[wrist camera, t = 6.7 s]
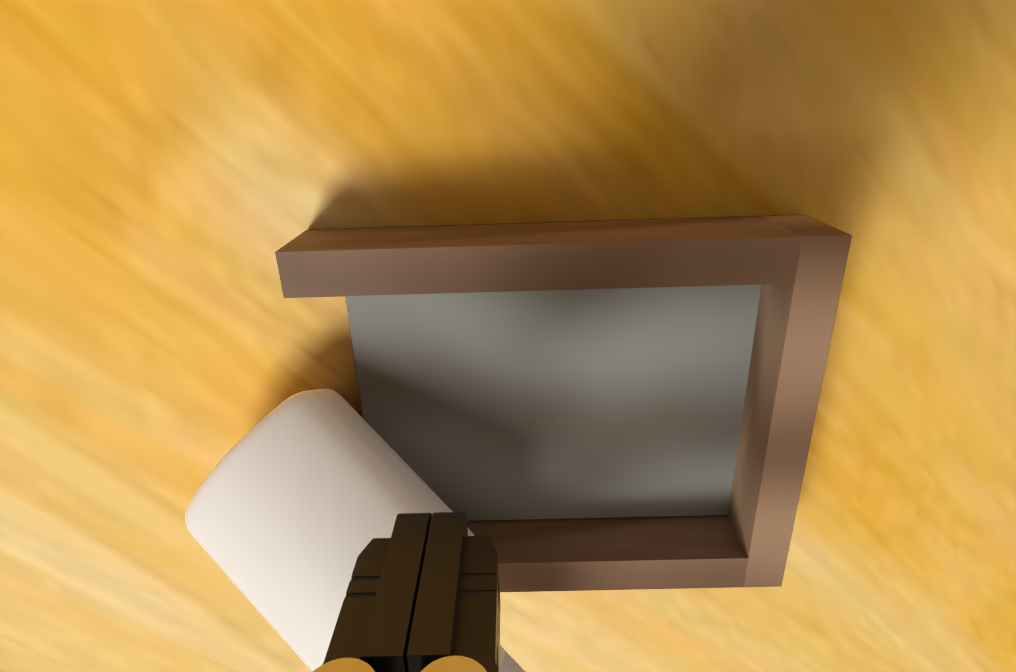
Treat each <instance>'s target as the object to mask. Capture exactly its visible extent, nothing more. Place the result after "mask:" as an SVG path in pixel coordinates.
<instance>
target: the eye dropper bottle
mask: <svg viewBox="0 0 1016 672" xmlns="http://www.w3.org/2000/svg"><path fill="white" fill-rule="evenodd" d="M435 512H453V511H452V510H451V509H450V508H449V507H448V506H447V505H446V504H445V503H444V502H443V501H442V500H441V499H440V498H439V497H438V496H437V495H436V494H435V492H434V491H433V490H432V489H431V488H430V487H429V486H428V485H427V484H426V483H425V482H424V481H423V480H422V479H421V478H420V477H419V476H418V475H417V474H416V473H415V472H414V471H413V470H412V468H411V467H410V466H409V465H408V464H407V463H406V462H405V461H404V460H403V459H402V458H401V457H400V456H399V455H398V454H397V453H396V452H395V451H394V450H393V449H392V448H391V447H390V446H389V445H388V444H387V443H386V442H385V441H384V439H383V438H382V437H381V436H380V435H379V434H378V433H377V432H376V431H375V430H374V429H373V428H372V427H371V426H370V425H369V424H368V423H367V422H366V421H365V420H364V419H363V418H362V417H361V416H360V415H359V414H358V413H357V412H356V411H355V409H354V408H353V407H352V406H351V405H350V404H349V403H348V402H347V401H346V400H345V399H344V398H343V397H342V396H341V395H340V394H339V393H337V392H336V391H334V390H332V389H328V388H325V389H315V390H307V391H301V392H299V393H296V394H294V395H292V396H290V397H289V398H287V399H286V400H284V401H283V402H282V403H280V404H279V405H278V406H277V407H275V408H274V409H273V410H272V411H271V412H270V413H269V414H267V415H266V416H265V417H264V418H263V419H262V420H261V421H260V422H258V423H257V424H256V425H255V426H254V427H253V428H252V429H251V430H250V431H249V432H248V433H247V434H246V435H245V436H244V437H243V438H242V439H241V440H240V441H239V442H238V443H237V444H236V445H235V446H234V447H233V448H232V449H231V450H230V451H229V452H228V453H227V454H226V455H225V456H224V457H223V459H222V460H221V461H220V462H219V463H218V464H217V465H216V467H215V468H214V469H213V470H212V472H211V473H210V474H209V475H208V477H207V478H206V479H205V481H204V482H203V483H202V485H201V486H200V488H199V489H198V491H197V492H196V494H195V495H194V497H193V498H192V500H191V502H190V503H189V505H188V507H187V509H186V512H185V523H186V526H187V528H188V530H189V532H190V533H191V534H192V535H193V537H194V538H195V539H196V540H197V541H198V542H199V543H200V545H201V546H202V547H203V548H204V549H205V550H206V552H207V553H208V554H209V555H210V556H211V557H212V558H213V560H214V561H215V562H216V563H217V564H218V565H219V566H220V567H221V569H222V570H223V571H224V572H225V573H226V574H227V575H228V577H229V578H230V579H231V580H232V581H233V582H234V583H235V585H236V586H237V587H238V588H239V589H240V590H241V591H242V593H243V594H244V595H245V596H246V597H247V598H248V599H249V601H250V602H251V603H252V604H253V605H254V606H255V607H256V609H257V610H258V611H259V612H260V613H261V614H262V615H263V616H264V618H265V619H266V620H267V621H268V622H269V623H270V624H271V625H272V627H273V628H274V629H275V630H276V631H277V632H278V633H279V634H280V636H281V637H282V638H283V639H284V640H285V641H286V642H287V644H288V645H289V646H290V647H291V648H292V649H293V650H294V651H295V653H296V654H297V655H298V656H299V657H300V658H301V659H302V660H303V662H304V663H305V664H306V665H307V666H308V667H309V668H310V669H311V671H312V672H313V671H314V670H315V669H317V668H318V667H320V666H321V665H322V664H323V662H324V660H325V656H326V653H327V650H328V647H329V644H330V641H331V638H332V635H333V632H334V629H335V625H336V622H337V619H338V616H339V613H340V610H341V607H342V604H343V601H344V598H345V597H346V591H347V588H348V585H349V582H350V580H351V576H352V573H353V570H354V567H355V564H356V560H357V557H358V555H359V554H360V553H361V552H362V551H363V550H364V548H365V547H366V546H367V545H368V544H369V543H370V541H371V540H372V539H373V538H391V535H392V532H393V528H394V524H395V520H396V517H397V515H398V514H399V513H431V514H433V513H435ZM468 536H475V535H474V534H473V533H472V532H471V531H470V529H469V528H468ZM499 646H500V645H499ZM499 672H525V671H524V670H523V669H522V668H521V667H520V666H519V665H518V664H517V663H516V662H515V661H514V659H513V658H512V657H511V656H510V655H509V654H508V653H507V652H506V651H505V650H504V649H503V648H502V647H501V646H500V651H499Z"/></svg>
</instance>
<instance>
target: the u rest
mask: <svg viewBox="0 0 1016 672" xmlns="http://www.w3.org/2000/svg"><path fill="white" fill-rule="evenodd" d="M851 236H852V235H849V234H847V233H845V232H843V231H840V230H838V229H836V228H833V227H831V226H829V225H827V224H824V223H822V222H820V221H818V220H815V219H813V218H811V217H808V216H806V215H782V216H749V217H715V218H681V219H647V220H613V221H579V222H546V223H512V224H478V225H444V226H410V227H376V228H343V229H309V230H306V231H304V232H303V233H302V234H300V235H299V236H297V237H296V238H295V239H293V240H292V241H290V242H289V243H288V244H286V245H285V246H283V247H282V248H280V249H279V250H278V251H276V252H275V253H276V259H277V264H278V269H279V274H280V280H281V285H282V290H283V296H284V298H298V297H334V296H345V297H346V304H347V311H348V318H349V325H350V332H351V339H352V345H353V352H354V359H355V366H356V373H357V380H358V386H359V393H360V400H361V407H362V414H363V419H364V420H365V421H366V422H367V423H368V424H369V425H370V426H371V427H372V428H373V429H374V430H375V431H376V432H377V433H378V434H379V435H380V436H381V437H382V438H383V439H384V441H385V442H386V443H387V444H388V445H389V446H390V447H391V448H392V449H393V450H394V451H395V452H396V453H397V454H398V455H399V456H400V457H401V458H402V459H403V460H404V461H405V462H406V463H407V464H408V465H409V466H410V467H411V468H412V470H413V471H414V472H415V473H416V474H417V475H418V476H419V477H420V478H421V479H422V480H423V481H424V482H425V483H426V484H427V485H428V486H429V487H430V488H431V489H432V490H433V491H434V492H435V494H436V495H437V496H438V497H439V498H440V499H441V500H442V501H443V502H444V503H445V504H446V505H447V506H448V507H449V508H450V509H451V510H452V511H453V512H466V515H467V527H468V528H469V529H470V531H471V532H472V533H473V534H474V535H475V536H489V537H490V539H491V541H492V543H493V545H494V547H495V548H496V550H497V552H498V566H499V587H500V592H530V591H578V590H627V589H675V588H724V587H772V586H781V585H782V580H783V575H784V570H785V565H786V560H787V555H788V550H789V545H790V540H791V535H792V530H793V525H794V520H795V515H796V510H797V505H798V500H799V495H800V490H801V485H802V480H803V476H804V471H805V466H806V461H807V456H808V451H809V446H810V441H811V436H812V431H813V426H814V421H815V416H816V411H817V406H818V401H819V396H820V391H821V386H822V381H823V376H824V371H825V366H826V361H827V356H828V351H829V346H830V341H831V336H832V331H833V326H834V321H835V316H836V311H837V306H838V301H839V296H840V291H841V286H842V281H843V276H844V271H845V266H846V261H847V256H848V251H849V246H850V241H851Z"/></svg>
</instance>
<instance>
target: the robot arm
mask: <svg viewBox="0 0 1016 672" xmlns="http://www.w3.org/2000/svg"><path fill="white" fill-rule="evenodd" d="M499 644H500V587H499V566H498V552H497V550H496V548H495V547H494V545H493V543H492V541H491V539H490V537H489V536H468V527H467V515H466V512H435V513H433V514H431V513H399V514H398V515H397V517H396V520H395V524H394V528H393V532H392V535H391V538H373V539H372V540H371V541H370V543H369V544H368V545H367V546H366V547H365V548H364V550H363V551H362V552H361V553H360V554H359V555H358V557H357V560H356V564H355V567H354V570H353V573H352V576H351V580H350V582H349V585H348V588H347V591H346V597H345V598H344V601H343V604H342V607H341V610H340V613H339V616H338V619H337V622H336V625H335V629H334V632H333V635H332V638H331V641H330V644H329V647H328V650H327V653H326V656H325V660H324V662H323V664H322V665H321V666H320V667H318V668H317V669H315V670H314V671H313V672H499V651H500V646H499Z"/></svg>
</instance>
